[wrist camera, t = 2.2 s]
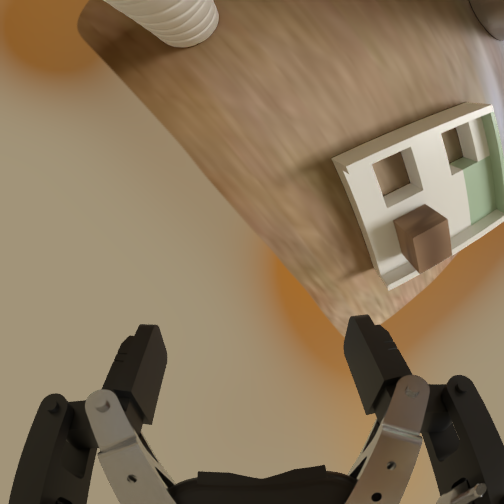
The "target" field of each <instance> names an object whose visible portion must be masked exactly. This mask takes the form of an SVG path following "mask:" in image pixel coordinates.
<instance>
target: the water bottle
mask: <svg viewBox="0 0 504 504" xmlns="http://www.w3.org/2000/svg"><path fill="white" fill-rule="evenodd" d="M103 1H105V2H107V3H108V4H110V5H111V6H112V7H114V8H115V9H117V10H118V11H120V12H122V13H124V14H125V15H126V16H128V17H129V18H131V19H133V20H134V21H135V22H137V23H138V24H140V25H141V26H143V27H144V28H145V29H147V30H148V31H150V32H151V33H152V34H154V35H155V36H157V37H158V38H159V39H160V40H162V41H163V42H164V43H166V44H168V45H170V46H173V47H190V46H194V45H196V44H198V43H201V42H203V41H204V40H206V39H207V38H208V37H210V36H211V34H212V33H213V31H214V30H215V29H216V27H217V25H218V21H219V14H218V11H217V8H216V5H215V3H214V1H213V0H103Z"/></svg>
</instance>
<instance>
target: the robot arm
mask: <svg viewBox="0 0 504 504" xmlns="http://www.w3.org/2000/svg"><path fill="white" fill-rule="evenodd" d="M470 4H471V6H472V9H473V11H474V13H475V14H476V16H477V18H478V19H479V21H480V22H481V24H482V25H483V26H484V27H485V29H486V30H487V31H488V32H489V33H490V34H491V35H492V36H493V37H495V38H496V39H498V40H501V41H503V40H504V0H470ZM344 354H345V357H346V360H347V363H348V365H349V368H350V371H351V374H352V376H353V379H354V382H355V384H356V387H357V390H358V393H359V395H360V398H361V401H362V404H363V407H364V410H365V413H366V415H369V414H373V413H375V414H376V416H377V419H376V421H375V423H374V425H373V428H372V430H371V432H370V434H369V436H368V439H367V441H366V443H365V445H364V447H363V449H362V451H361V453H360V455H359V457H358V459H357V460H356V462H355V463H354V465H353V466H352V468H351V470H350V471H349V473H348V475H345V474H342V473H338V472H331V471H326V468H325V465H322V466H316V467H309V468H302V469H294V470H291V471H288V472H285V473H282V474H279V475H275V476H272V477H268V478H264V479H258V478H252V477H247V476H242V475H237V474H233V473H220V472H198V477H197V478H192V479H188V480H185V481H182V482H180V483H178V484H176V483H175V482H174V481H173V479H172V478H171V477H170V475H169V474H168V473H167V471H166V470H165V469H164V468H163V466H162V465H161V463H160V462H159V460H158V459H157V457H156V456H155V454H154V452H153V451H152V449H151V447H150V446H149V444H148V442H147V440H146V439H145V437H144V435H143V434H142V432H141V429H142V424H149V425H152V421H153V417H154V413H155V408H156V404H157V400H158V396H159V392H160V388H161V384H162V379H163V376H164V372H165V368H166V364H167V351H166V348H165V345H164V342H163V338H162V335H161V332H160V329H159V327H158V326H157V325H145V324H141V325H139V327H138V329H137V331H136V334H135V336H129V337H128V338H127V339H126V340H125V341H124V342H123V343H122V344H121V346H120V348H119V350H118V354H117V355H116V357H115V359H114V362H113V364H112V366H111V368H110V371H109V373H108V375H107V378H106V380H105V383H104V385H103V387H102V389H101V390H97V391H95V392H93V393H92V394H90V395H89V397H88V398H87V400H85V401H76V402H68V401H67V400H66V399H65V398H64V397H63V396H62V395H61V394H51V395H48V396H47V397H45V398H44V399H43V401H42V402H41V404H40V406H39V409H38V411H37V414H36V416H35V419H34V421H33V424H32V426H31V429H30V432H29V434H28V437H27V440H26V443H25V446H24V449H23V452H22V455H21V458H20V461H19V464H18V468H17V471H16V475H15V479H14V482H13V486H12V490H11V495H10V500H9V504H86V503H87V497H88V491H89V486H90V480H91V475H92V469H93V465H94V460H95V456H96V451H97V448H100V452H99V453H98V458H99V461H100V463H101V466H102V468H103V470H104V472H105V474H106V476H107V479H108V481H109V483H110V485H111V487H112V489H113V491H114V493H115V495H116V496H117V498H118V500H119V502H120V504H399V503H400V500H401V498H402V496H403V494H404V491H405V489H406V487H407V484H408V482H409V479H410V476H411V474H412V471H413V469H414V466H415V463H416V460H417V457H418V454H419V451H420V448H421V444H422V437H421V436H419V434H420V433H422V436H423V439H424V442H425V445H426V448H427V451H428V454H429V457H430V461H431V464H432V467H433V471H434V474H435V478H436V481H437V485H438V488H439V492H440V496H441V497H440V498H439V499H438V501H437V503H436V504H504V445H503V443H502V441H501V438H500V436H499V434H498V431H497V430H496V427H495V425H494V423H493V421H492V418H491V417H490V414H489V412H488V410H487V409H486V406H485V404H484V402H483V400H482V399H481V397H480V395H479V393H478V391H477V389H476V387H475V386H474V384H473V382H472V381H471V380H470V379H469V378H467V377H465V376H462V375H456V376H453V377H452V378H450V380H449V381H448V383H447V384H445V385H443V384H442V385H430V384H427V382H426V381H425V380H424V379H423V378H421V377H419V376H416V375H412V373H411V371H410V369H409V367H408V366H407V364H406V362H405V360H404V359H403V357H402V355H401V353H400V351H399V350H398V349H397V346H396V344H395V343H394V342H393V339H392V337H391V336H390V334H389V332H388V331H387V330H385V329H384V328H383V327H382V326H381V325H374V323H373V321H372V320H371V318H370V316H369V315H359V316H351V317H350V319H349V323H348V327H347V332H346V336H345V340H344ZM452 422H453V423H452ZM454 427H455V428H454ZM456 432H457V433H456ZM458 437H459V438H458Z"/></svg>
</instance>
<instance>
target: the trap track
mask: <svg viewBox="0 0 504 504" xmlns="http://www.w3.org/2000/svg"><path fill="white" fill-rule="evenodd" d="M455 127H456V130H457V134H458V137H459V141H460V145H461V149H462V153H463V157H462V158H460V159H458V160H456V161H454V162H452V163H450V164H449V162H448V158H447V154H446V150H445V146H444V143H443V139H442V136H441V133H443V132H445V131H448V130H450V129H452V128H455ZM398 152H401V155H402V158H403V161H404V164H405V167H406V170H407V173H408V177H409V180H410V184H408V185H405V186H403V187H401V188H399V189H397V190H395V191H393V192H391V193H389V194H387V195H385V196H383V195H382V192H381V189H380V186H379V183H378V180H377V178H376V175H375V172H374V170H373V167H372V164H373V163H376V162H378V161H380V160H382V159H384V158H387V157H389V156H391V155H393V154H395V153H398ZM331 159H332V161H333V163H334V165H335V168H336V170H337V172H338V174H339V177H340V179H341V181H342V184H343V186H344V188H345V191H346V193H347V196H348V198H349V201H350V203H351V205H352V208H353V211H354V213H355V216H356V218H357V221H358V224H359V226H360V229H361V232H362V235H363V237H364V240H365V243H366V246H367V249H368V252H369V255H370V258H371V261H372V264H373V267H374V269H375V271H376V272H377V274H378V275H379V277H380V278H381V280H382V281H383V283H384V284H385V286H386V287H387V289H388V290H391V289H393V288H395V287H397V286H399V285H401V284H403V283H405V282H407V281H408V280H410V279H412V278H414V277H416V276H418V275H419V273H418V272H417V270H416V269H415V268H414V267H413V266H412V265H411V264H410V262H409V261H408V260H407V259H406V258H405V257H404V256H403V254H402V253H401V249H400V245H399V241H398V237H397V233H396V230H395V226H394V223H393V220H395V219H397V218H399V217H401V216H403V215H405V214H407V213H409V212H410V211H412V210H414V209H416V208H418V207H420V206H422V205H424V204H426V205H428V206H429V207H431V208H432V209H434V210H435V211H437V212H438V213H440V214H441V215H443V216H444V217H445V218H447V219H448V225H449V232H450V240H451V248H452V255H454V254H455V253H457V252H459V251H460V250H462V249H463V248H465V247H466V246H468V245H470V244H471V243H473V242H474V241H476V240H477V239H479V238H480V237H482V236H483V235H485V234H486V233H488V232H489V231H491V230H492V229H493V228H495V227H496V226H498V225H499V224H500V223H502V222H503V221H504V157H503V151H502V145H501V140H500V135H499V130H498V126H497V122H496V118H495V114H494V110H493V106H492V105H490V104H481V103H469V102H466V103H463V104H460V105H457V106H455V107H452V108H449V109H447V110H444V111H441V112H439V113H436V114H433V115H431V116H428V117H426V118H423V119H421V120H418V121H416V122H413V123H411V124H408V125H406V126H404V127H401V128H399V129H396V130H394V131H392V132H389V133H387V134H384V135H382V136H380V137H378V138H375V139H373V140H371V141H368V142H366V143H364V144H362V145H359V146H357V147H355V148H353V149H350V150H348V151H346V152H344V153H342V154H340V155H337V156H335V157H333V158H331ZM438 264H439V263H438ZM433 267H434V266H433ZM426 271H427V270H426Z"/></svg>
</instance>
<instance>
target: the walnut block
mask: <svg viewBox="0 0 504 504" xmlns="http://www.w3.org/2000/svg"><path fill="white" fill-rule="evenodd" d="M393 223H394V226H395V230H396V233H397V237H398V241H399V245H400V249H401V253H402V254H403V256H404V257H405V258H406V259H407V260H408V261H409V262H410V264H411V265H412V266H413V267H414V268H415V269H416V270H417V272H418V273H419V274H421V273H423V272H425V271H426V270H428V269H430V268H432V267H433V266H435V265H437V264H438V263H440V262H442V261H444V260H445V259H447V258H449V257H450V256H452V248H451V240H450V232H449V225H448V219H447V218H445V217H444V216H443V215H441V214H440V213H438V212H437V211H435V210H434V209H432V208H431V207H429V206H428V205H426V204H424V205H422V206H420V207H418V208H416V209H414V210H412V211H410V212H409V213H407V214H405V215H403V216H401V217H399V218H397V219H395V220H393Z"/></svg>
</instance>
